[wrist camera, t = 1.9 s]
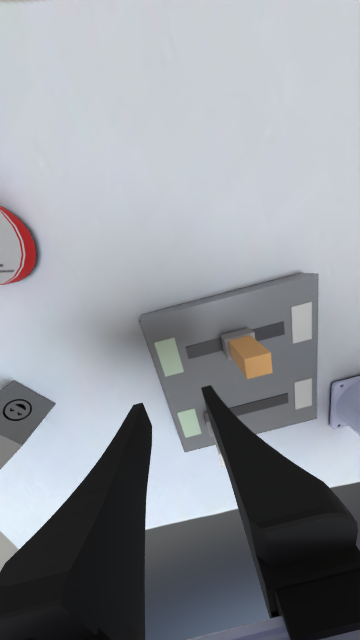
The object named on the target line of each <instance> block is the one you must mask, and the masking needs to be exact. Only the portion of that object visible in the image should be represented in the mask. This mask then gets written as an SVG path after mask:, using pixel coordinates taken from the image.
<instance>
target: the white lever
mask: <svg viewBox="0 0 360 640" xmlns="http://www.w3.org/2000/svg"><path fill="white" fill-rule="evenodd" d="M204 416H205V420H206V423H207V427H208V431H209V435H210V437H211V436H214V433H213V430H212V427H211V424H210V420H209V416H208V413H204ZM214 439H215V443H216V447H217V450H218V454H219V458H220V461H221V465H222V467H224V466H225V463H224V460H223V458H222V455H221V452H220V449H219V447H218V444H217V441H216V438H215V436H214Z"/></svg>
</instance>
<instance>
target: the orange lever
mask: <svg viewBox="0 0 360 640" xmlns="http://www.w3.org/2000/svg"><path fill="white" fill-rule="evenodd" d="M221 340H222V346H223V351H224V355H225V356H226V358H227V360H228V361H229V360H232V359H233V360H234V361H235V363H236V364H237V366H238V367H239V368H240V370H241V371H242V373H243V374H244V376H245V377H246V378H247V379H250V378H254V377H258V376H262V375H266V374H270V373H273V372H272V360H271V352H270V351H268V350H267V349H266V348H265V347H264V346H263V345H261V344H260V343H259V342H258V341H257V340H255V332H253V331H252V330H251V329H250V328H245V329H241V330H237V331H234V332H230V333H226V334H222V335H221Z"/></svg>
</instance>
